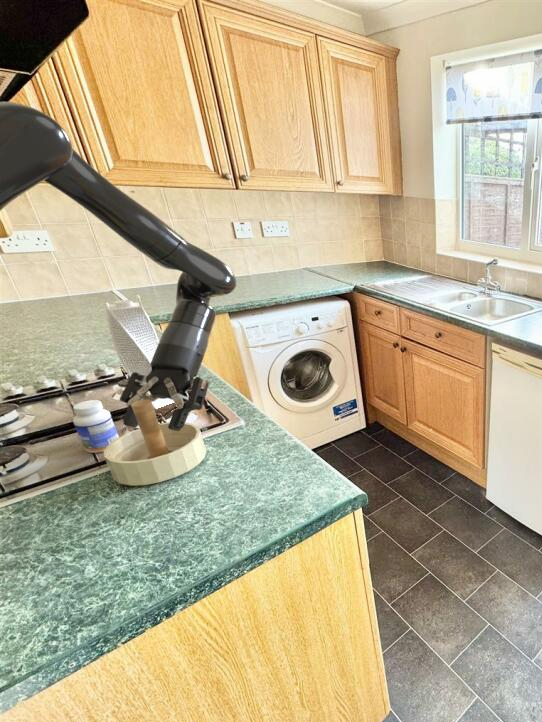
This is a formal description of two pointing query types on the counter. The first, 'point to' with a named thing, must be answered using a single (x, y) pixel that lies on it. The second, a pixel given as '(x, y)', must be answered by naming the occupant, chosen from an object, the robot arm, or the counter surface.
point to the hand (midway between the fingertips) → (151, 428)
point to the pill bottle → (94, 426)
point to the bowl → (136, 469)
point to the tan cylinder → (150, 428)
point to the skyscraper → (134, 339)
